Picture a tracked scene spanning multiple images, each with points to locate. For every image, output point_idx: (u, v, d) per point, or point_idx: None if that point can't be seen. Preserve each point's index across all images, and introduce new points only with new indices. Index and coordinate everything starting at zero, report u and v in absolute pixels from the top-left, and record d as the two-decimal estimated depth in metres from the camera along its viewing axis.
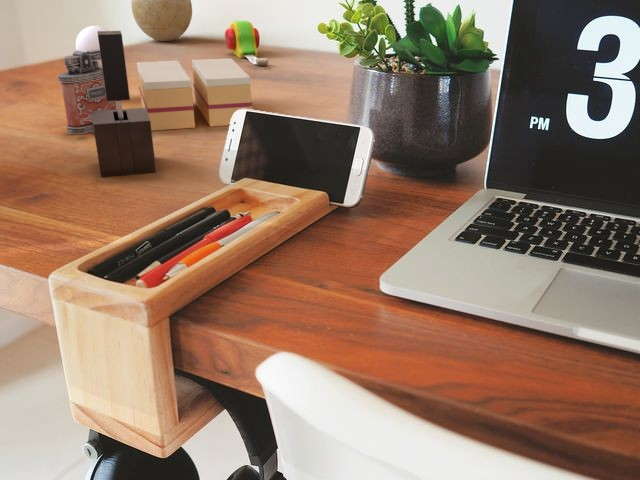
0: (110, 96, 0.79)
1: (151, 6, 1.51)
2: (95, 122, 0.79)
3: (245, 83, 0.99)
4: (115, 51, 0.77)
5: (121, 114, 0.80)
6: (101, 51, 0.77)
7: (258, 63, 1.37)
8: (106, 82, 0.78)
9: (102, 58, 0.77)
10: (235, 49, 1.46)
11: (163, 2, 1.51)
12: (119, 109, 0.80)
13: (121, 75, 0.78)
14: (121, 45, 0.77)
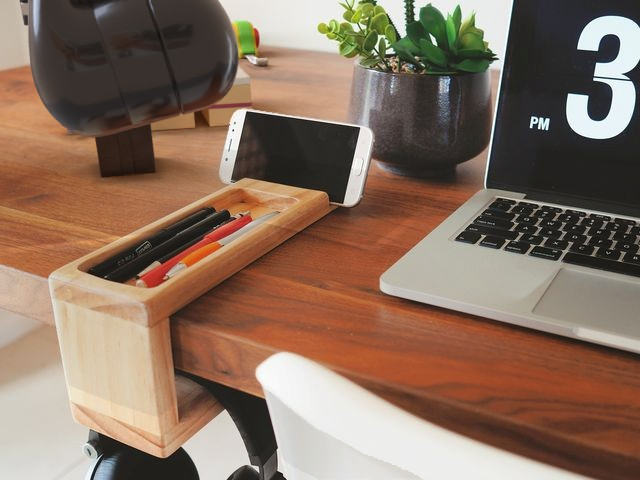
0: None
1: None
2: None
3: (245, 83, 0.99)
4: None
5: None
6: None
7: (258, 63, 1.37)
8: None
9: None
10: None
11: None
12: None
13: None
14: None
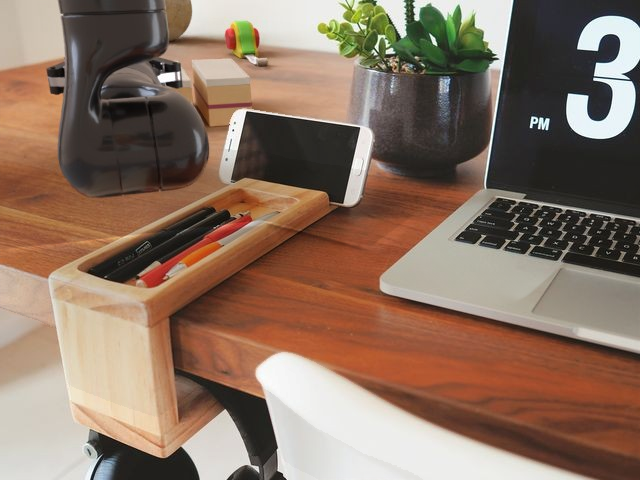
0: None
1: None
2: None
3: (245, 83, 0.99)
4: None
5: None
6: None
7: (258, 63, 1.37)
8: None
9: None
10: (235, 49, 1.46)
11: None
12: None
13: None
14: None
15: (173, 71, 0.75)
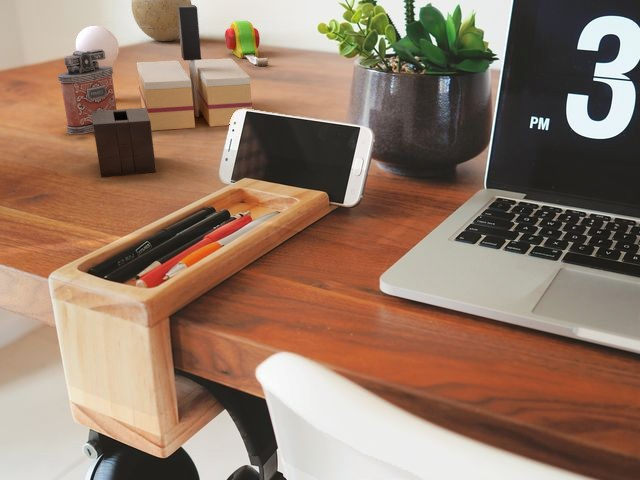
0: (186, 56, 1.00)
1: (151, 6, 1.51)
2: (95, 122, 0.79)
3: (245, 83, 0.99)
4: (191, 20, 0.98)
5: (194, 71, 1.01)
6: (181, 20, 0.98)
7: (258, 63, 1.37)
8: (183, 45, 0.99)
9: (181, 26, 0.98)
10: (235, 49, 1.46)
11: (163, 3, 1.51)
12: (193, 67, 1.01)
13: (195, 40, 1.00)
14: (196, 16, 0.98)
15: None
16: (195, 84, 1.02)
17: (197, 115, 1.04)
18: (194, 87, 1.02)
